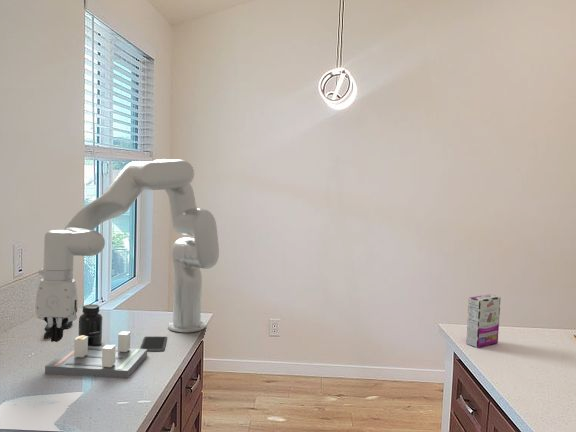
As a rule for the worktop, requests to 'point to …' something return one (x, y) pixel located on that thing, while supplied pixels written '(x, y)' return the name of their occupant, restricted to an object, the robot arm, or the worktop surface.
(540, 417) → the worktop surface
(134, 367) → the breaker board
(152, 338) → the cell phone
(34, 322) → the worktop surface
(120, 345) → the block
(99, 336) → the supplement bottle
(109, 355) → the block
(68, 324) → the can opener
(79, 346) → the handle
